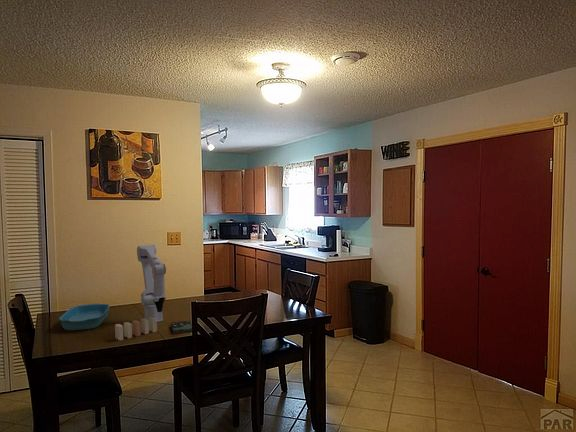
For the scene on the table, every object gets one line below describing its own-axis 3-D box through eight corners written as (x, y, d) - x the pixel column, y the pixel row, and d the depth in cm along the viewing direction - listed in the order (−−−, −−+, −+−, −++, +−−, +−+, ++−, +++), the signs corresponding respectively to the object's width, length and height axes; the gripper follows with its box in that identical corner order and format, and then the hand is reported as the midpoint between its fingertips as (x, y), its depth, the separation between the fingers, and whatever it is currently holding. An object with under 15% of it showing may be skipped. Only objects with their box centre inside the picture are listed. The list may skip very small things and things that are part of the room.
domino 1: (119, 337, 210) (118, 323, 210) (123, 339, 206) (123, 325, 206) (115, 338, 209) (114, 324, 208) (119, 340, 205) (119, 326, 205)
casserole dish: (100, 331, 222) (99, 317, 222) (54, 334, 217) (54, 321, 217) (113, 313, 258) (112, 302, 257) (74, 316, 253) (73, 304, 252)
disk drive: (170, 327, 227) (173, 335, 214) (170, 322, 227) (173, 329, 214) (189, 325, 231) (193, 332, 217) (189, 320, 231) (193, 327, 217)
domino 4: (144, 331, 219) (144, 318, 219) (149, 333, 216) (148, 320, 216) (141, 332, 218) (140, 319, 218) (145, 334, 215) (145, 320, 214)
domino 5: (152, 329, 223) (152, 316, 222) (157, 331, 219) (156, 318, 219) (149, 330, 221) (148, 317, 221) (153, 332, 218) (153, 319, 217)
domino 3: (136, 333, 216) (136, 320, 216) (140, 335, 213) (140, 321, 212) (132, 334, 215) (132, 320, 215) (136, 336, 211) (136, 322, 211)
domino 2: (128, 335, 213) (127, 321, 213) (132, 337, 210) (131, 323, 209) (124, 336, 212) (123, 322, 212) (128, 338, 208) (127, 324, 208)
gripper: (155, 284, 229) (155, 308, 230) (147, 289, 215) (148, 315, 215) (168, 283, 230) (168, 308, 230) (161, 289, 215) (162, 315, 216)
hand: (159, 311), depth 223 cm, fingers closed
